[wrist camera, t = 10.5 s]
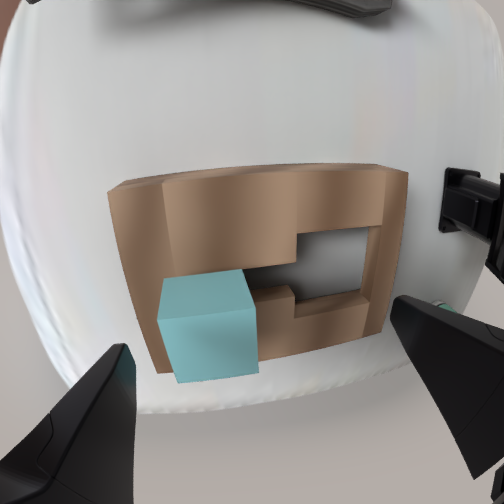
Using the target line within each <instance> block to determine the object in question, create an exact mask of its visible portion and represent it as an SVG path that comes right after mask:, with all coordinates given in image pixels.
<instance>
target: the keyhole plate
mask: <svg viewBox="0 0 504 504" xmlns="http://www.w3.org/2000/svg"><path fill="white" fill-rule="evenodd" d="M407 187H408V172H405V171H401V170H397V169H393V168H389V167H385V166H381V165H377V164H355V163H305V164H275V165H256V166H241V167H228V168H217V169H207V170H197V171H188V172H180V173H172V174H165V175H158V176H151V177H144V178H138V179H132V180H126V181H124V182H122V183H121V184H119V185H118V186H116V187H115V188H113V189H112V190H110V191H109V192H107V194H108V200H109V206H110V212H111V217H112V222H113V227H114V232H115V237H116V242H117V246H118V250H119V255H120V259H121V263H122V267H123V271H124V275H125V278H126V282H127V286H128V289H129V293H130V296H131V300H132V303H133V306H134V309H135V313H136V316H137V319H138V322H139V325H140V328H141V331H142V334H143V337H144V340H145V342H146V345H147V348H148V351H149V353H150V356H151V359H152V361H153V364H154V366H155V369H156V371H157V374H159V373H173V372H174V371H173V369H172V366H171V363H170V360H169V357H168V354H167V351H166V348H165V345H164V341H163V338H162V335H161V332H160V328H159V325H158V322H157V317H158V310H159V304H160V298H161V292H162V286H163V281H164V278H172V277H181V276H189V275H197V274H205V273H213V272H221V271H229V270H237V269H248V268H256V267H264V266H271V265H279V264H286V263H294V262H296V246H297V233H306V232H316V231H326V230H335V229H345V228H356V227H366V226H369V230H368V239H367V248H366V256H365V263H364V270H363V277H362V283H361V289H359V290H354V291H349V292H344V293H339V294H334V295H329V296H324V297H318V298H313V299H307V300H302V301H296V302H295V295H294V294H293V292H292V291H291V289H290V287H289V286H288V285H283V286H276V287H269V288H262V289H255V290H249V291H250V294H251V296H252V299H253V302H254V305H255V308H256V327H257V347H258V362H259V361H265V360H270V359H275V358H281V357H286V356H290V355H295V354H300V353H304V352H309V351H313V350H318V349H322V348H326V347H330V346H334V345H338V344H342V343H345V342H349V341H353V340H356V339H360V338H363V337H367V336H370V335H373V334H377V333H380V332H381V331H382V328H383V324H384V320H385V316H386V313H387V309H388V305H389V300H390V296H391V292H392V287H393V283H394V278H395V273H396V268H397V263H398V257H399V251H400V245H401V239H402V232H403V225H404V217H405V208H406V198H407Z"/></svg>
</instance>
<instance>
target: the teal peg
mask: <svg viewBox="0 0 504 504" xmlns="http://www.w3.org/2000/svg"><path fill="white" fill-rule="evenodd" d="M157 322H158V325H159V328H160V332H161V335H162V338H163V341H164V345H165V348H166V351H167V354H168V357H169V360H170V363H171V366H172V369H173V371H174V374H175V377H176V380H177V383H188V382H198V381H207V380H215V379H222V378H230V377H236V376H243V375H249V374H255V373H259V367H258V347H257V327H256V308H255V305H254V302H253V299H252V296H251V294H250V291H249V288H248V285H247V283H246V280H245V277H244V274H243V271H242V269H237V270H229V271H221V272H213V273H205V274H197V275H189V276H181V277H172V278H164V281H163V286H162V292H161V298H160V304H159V310H158V317H157Z"/></svg>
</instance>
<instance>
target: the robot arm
mask: <svg viewBox="0 0 504 504" xmlns="http://www.w3.org/2000/svg"><path fill="white" fill-rule="evenodd" d="M480 177H481V175H480V172H477V171H472V170H465V169H458V168H450V167H448V168H447V169H446V171H445V183H444V193H443V201H442V209H441V216H440V222H439V231H440V232H442V233H446V232H454V231H461V230H463V231H465V232H467V233H468V234H470V235H472V236H474V237H476V238H478V239H480V240H482V241H483V242H485V243H487V244H489V245H490V249H489V253H488V257H487V259H486V262H485V266H486V267H487V268H489V270H490V271H491V272H492V273H493V274H494V275H495V276H496V277H497V278H498V279H499V280H500V281H501V282H502V283H503V284H504V173H500V179H501V181H500V185H499V184H496V183H493V182H490V181H487V180H484V179H481V178H480ZM390 321H391V323H392V325H393V327H394V329H395V331H396V333H397V335H398V337H399V339H400V341H401V343H402V345H403V347H404V349H405V351H406V353H407V355H408V357H409V359H410V360H411V362H412V363H413V365H414V367H415V368H416V370H417V372H418V373H419V375H420V377H421V378H422V380H423V382H424V383H425V385H426V387H427V389H428V391H429V392H430V394H431V396H432V398H433V399H434V401H435V403H436V405H437V407H438V408H439V410H440V412H441V414H442V416H443V418H444V419H445V421H446V423H447V425H448V427H449V429H450V431H451V433H452V435H453V437H454V438H455V441H456V443H457V445H458V447H459V449H460V451H461V454H462V456H463V458H464V460H465V462H466V464H467V467H468V469H469V471H470V473H471V476H472V477H473V479H474V480H475V479H476V478H478V477H479V476H480V475H482V474H483V473H484V472H485V471H487V470H488V469H490V468H491V467H492V466H493V465H495V464H496V463H497V462H498V461H499V460H501V459H502V458H503V457H504V330H503V329H500V328H498V327H495V326H492V325H489V324H485V323H483V322H481V321H478V320H475V319H472V318H469V317H467V316H464V315H461V314H458V313H455V312H453V311H450V310H447V309H444V308H441V307H438V306H436V305H433V304H430V303H427V302H424V301H421V300H419V299H416V298H413V297H410V296H407V295H402V296H398V297H396V298H395V299H394V301H393V306H392V310H391V314H390ZM136 410H137V402H136V364H135V361H134V359H133V357H132V354H131V352H130V350H129V348H128V346H127V344H125V343H120V344H113V345H112V346H111V347H110V348H109V349H108V350H107V351H106V352H105V353H104V354H103V356H102V357H101V358H100V359H99V360H98V361H97V362H96V363H95V364H94V365H93V366H92V367H91V368H90V369H89V370H88V371H87V372H86V373H85V374H84V375H83V376H82V377H81V378H80V380H79V381H78V382H77V383H76V384H75V385H74V386H73V387H72V388H71V389H70V390H69V391H68V392H67V393H66V395H65V396H64V397H63V398H62V399H61V400H60V401H59V402H58V403H57V404H56V405H55V406H54V408H53V409H52V410H51V411H50V413H48V414H47V415H46V416H45V417H44V418H43V419H42V421H41V422H40V423H39V424H38V425H37V426H36V427H35V428H34V429H33V430H32V431H31V432H30V433H29V434H28V435H27V436H26V437H25V438H24V439H23V440H22V441H21V442H20V443H19V444H18V445H16V446H15V447H14V448H13V449H12V450H11V451H10V452H9V453H8V454H7V455H6V456H5V457H4V458H2V459H1V460H0V504H134V503H133V467H134V466H133V465H134V440H135V425H136ZM491 499H492V500H493V504H504V463H503V464H502V465H501V466H500V467H499V469H497V470H496V472H495V477H494V483H493V488H492V493H491Z"/></svg>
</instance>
